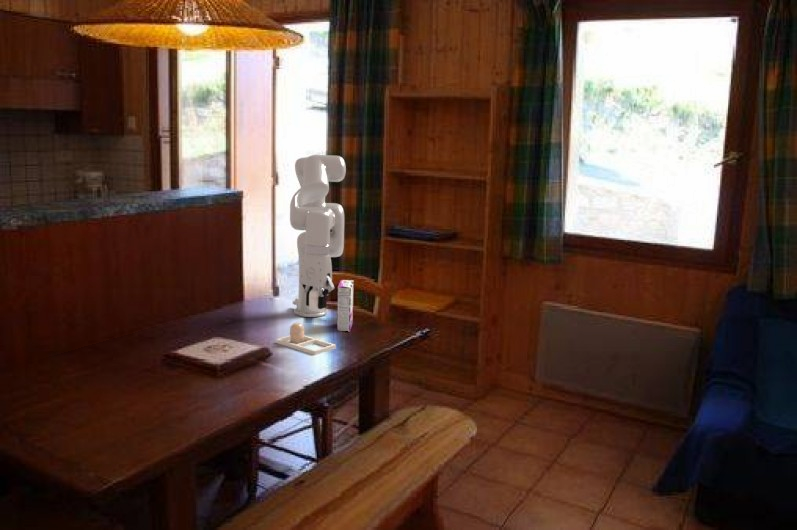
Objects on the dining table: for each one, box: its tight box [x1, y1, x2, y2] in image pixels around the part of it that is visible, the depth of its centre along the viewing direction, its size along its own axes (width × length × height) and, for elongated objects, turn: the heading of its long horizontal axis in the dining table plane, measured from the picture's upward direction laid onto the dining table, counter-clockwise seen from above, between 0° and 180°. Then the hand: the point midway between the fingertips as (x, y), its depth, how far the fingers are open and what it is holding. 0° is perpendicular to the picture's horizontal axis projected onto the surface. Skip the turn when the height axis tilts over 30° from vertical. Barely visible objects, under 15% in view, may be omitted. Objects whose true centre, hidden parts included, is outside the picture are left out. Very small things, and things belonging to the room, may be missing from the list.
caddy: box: [275, 334, 337, 356], centre depth 234 cm, size 18×10×2 cm, turn 52°
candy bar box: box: [336, 279, 354, 333], centre depth 257 cm, size 11×5×16 cm, turn 179°
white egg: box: [309, 288, 323, 311], centre depth 228 cm, size 5×5×7 cm
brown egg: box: [289, 322, 305, 344], centre depth 236 cm, size 5×5×7 cm
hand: (316, 306), depth 228 cm, fingers closed on white egg, 4 cm apart
